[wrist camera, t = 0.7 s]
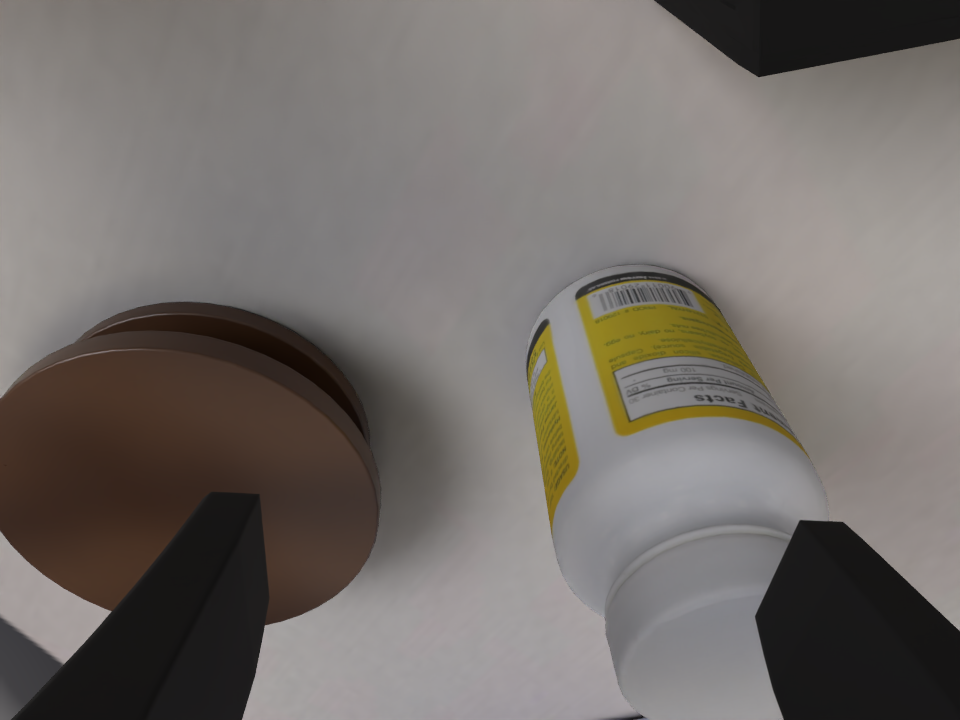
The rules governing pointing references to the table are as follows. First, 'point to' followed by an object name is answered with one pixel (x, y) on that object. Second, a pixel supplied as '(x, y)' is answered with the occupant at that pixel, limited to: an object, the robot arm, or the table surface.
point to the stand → (187, 452)
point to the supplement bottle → (666, 486)
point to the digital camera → (815, 29)
